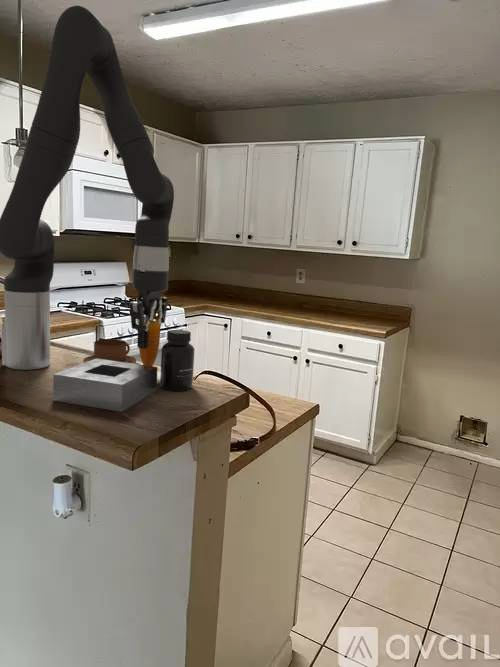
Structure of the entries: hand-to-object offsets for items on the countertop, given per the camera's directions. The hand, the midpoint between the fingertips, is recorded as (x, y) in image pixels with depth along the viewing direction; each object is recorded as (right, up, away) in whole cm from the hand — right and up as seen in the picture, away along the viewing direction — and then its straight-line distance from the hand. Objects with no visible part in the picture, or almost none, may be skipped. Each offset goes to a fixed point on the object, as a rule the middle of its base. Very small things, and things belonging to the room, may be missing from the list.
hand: (148, 345), depth 107 cm
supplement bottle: (+7, -9, -4) cm, 12 cm away
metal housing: (-5, -9, -13) cm, 17 cm away
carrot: (0, -6, +1) cm, 6 cm away
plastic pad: (0, -7, +1) cm, 7 cm away
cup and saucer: (-11, -6, +8) cm, 14 cm away
